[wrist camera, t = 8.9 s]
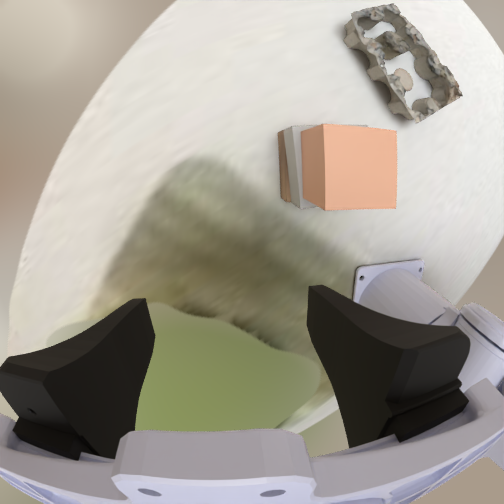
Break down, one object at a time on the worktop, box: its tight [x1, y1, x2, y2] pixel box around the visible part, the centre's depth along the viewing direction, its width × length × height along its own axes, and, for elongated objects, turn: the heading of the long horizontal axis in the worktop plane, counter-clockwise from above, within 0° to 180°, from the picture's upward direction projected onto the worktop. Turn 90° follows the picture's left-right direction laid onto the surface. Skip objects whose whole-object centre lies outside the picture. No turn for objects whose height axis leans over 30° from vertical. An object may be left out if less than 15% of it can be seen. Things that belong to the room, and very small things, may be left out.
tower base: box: [278, 130, 291, 202], centre depth 19 cm, size 5×5×2 cm
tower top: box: [283, 125, 368, 209], centre depth 17 cm, size 5×5×2 cm
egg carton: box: [343, 3, 462, 123], centre depth 15 cm, size 11×8×4 cm
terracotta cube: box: [301, 124, 397, 210], centre depth 14 cm, size 4×4×4 cm
